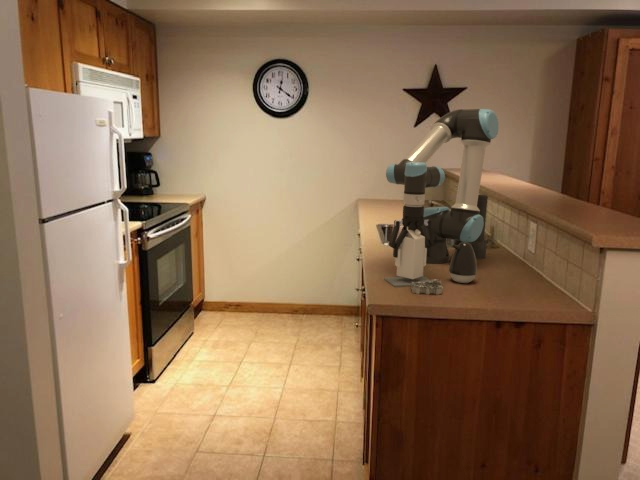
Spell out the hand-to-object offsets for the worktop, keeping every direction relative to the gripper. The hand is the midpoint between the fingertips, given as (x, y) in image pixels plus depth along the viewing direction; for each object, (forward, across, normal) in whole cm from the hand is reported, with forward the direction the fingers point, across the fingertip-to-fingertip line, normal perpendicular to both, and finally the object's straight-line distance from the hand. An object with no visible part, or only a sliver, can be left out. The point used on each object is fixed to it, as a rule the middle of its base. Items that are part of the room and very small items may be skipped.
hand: (410, 265), depth 197 cm
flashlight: (+7, +47, +32) cm, 57 cm away
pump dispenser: (+7, +20, -3) cm, 21 cm away
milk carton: (+4, 0, 0) cm, 4 cm away
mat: (+6, 0, 0) cm, 6 cm away
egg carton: (+7, +1, -12) cm, 14 cm away
